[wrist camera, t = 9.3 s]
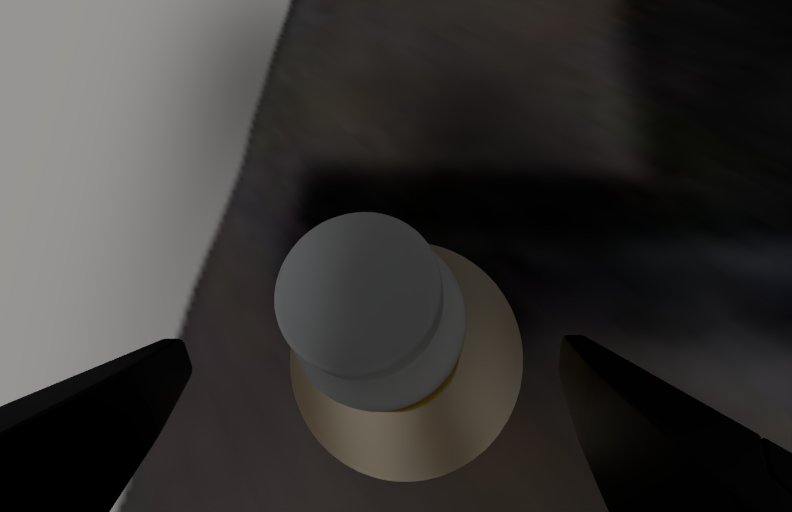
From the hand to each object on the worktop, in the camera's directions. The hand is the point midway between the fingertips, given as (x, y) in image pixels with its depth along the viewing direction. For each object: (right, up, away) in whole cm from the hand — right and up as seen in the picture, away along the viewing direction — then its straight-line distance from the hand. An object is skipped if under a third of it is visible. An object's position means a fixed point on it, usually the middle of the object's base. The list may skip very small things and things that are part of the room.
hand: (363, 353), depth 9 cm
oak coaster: (+1, -2, +10) cm, 10 cm away
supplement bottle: (+1, -2, +9) cm, 9 cm away
